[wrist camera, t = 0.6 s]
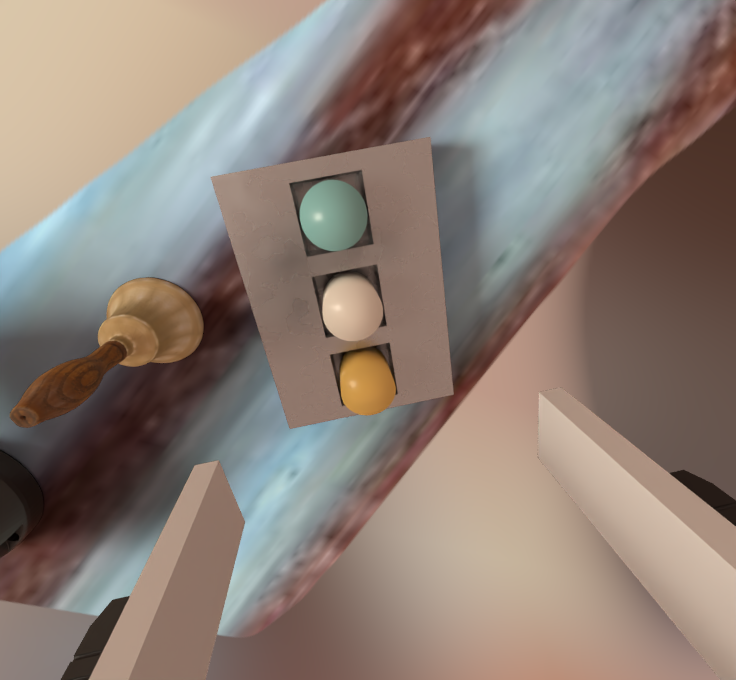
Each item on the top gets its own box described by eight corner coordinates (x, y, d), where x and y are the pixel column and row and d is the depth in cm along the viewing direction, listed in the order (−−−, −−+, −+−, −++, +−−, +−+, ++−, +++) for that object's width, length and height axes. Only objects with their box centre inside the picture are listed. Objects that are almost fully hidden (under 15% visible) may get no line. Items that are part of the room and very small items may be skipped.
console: (293, 403, 38) (289, 428, 33) (227, 180, 29) (210, 177, 25) (439, 373, 38) (453, 394, 34) (415, 145, 30) (430, 136, 26)
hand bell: (129, 259, 31) (-56, 314, 16) (219, 308, 33) (132, 395, 18) (94, 335, 33) (-97, 446, 18) (181, 375, 35) (76, 503, 20)
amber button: (344, 393, 34) (346, 420, 30) (334, 351, 33) (336, 373, 28) (390, 383, 34) (399, 409, 30) (383, 341, 33) (391, 361, 29)
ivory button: (329, 327, 32) (329, 346, 27) (317, 277, 30) (316, 289, 26) (379, 317, 32) (387, 334, 28) (370, 266, 30) (377, 277, 26)
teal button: (311, 248, 29) (308, 256, 25) (297, 188, 27) (292, 186, 23) (365, 238, 29) (372, 244, 25) (355, 177, 27) (361, 173, 23)
